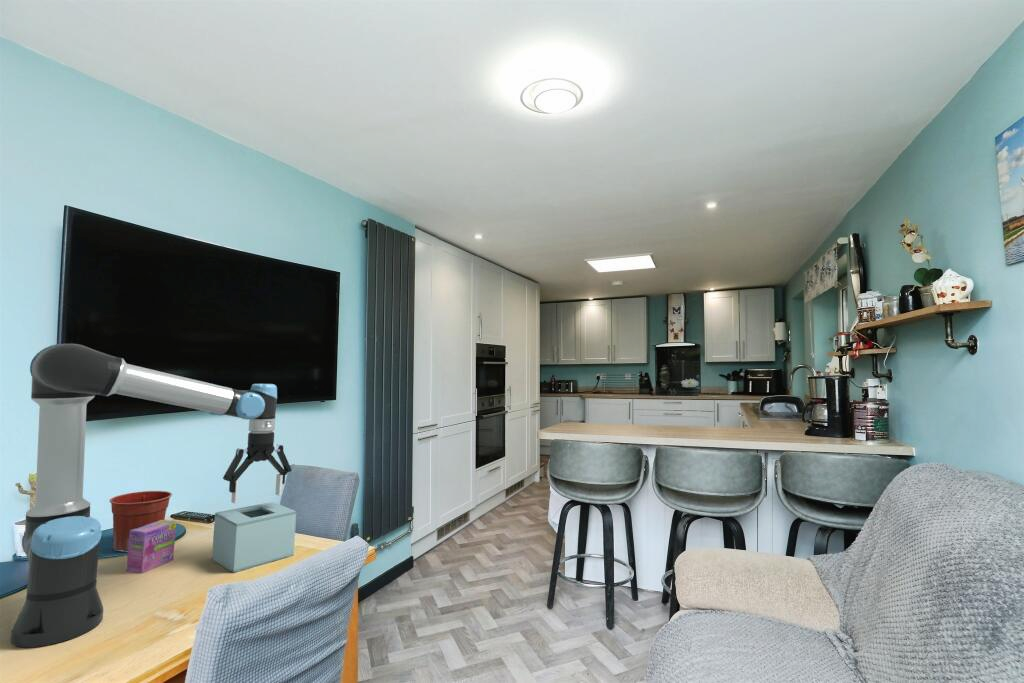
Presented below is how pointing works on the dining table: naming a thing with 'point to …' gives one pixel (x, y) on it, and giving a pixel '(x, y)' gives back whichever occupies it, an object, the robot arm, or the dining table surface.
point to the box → (151, 546)
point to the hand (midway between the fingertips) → (257, 498)
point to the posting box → (253, 536)
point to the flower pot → (136, 513)
